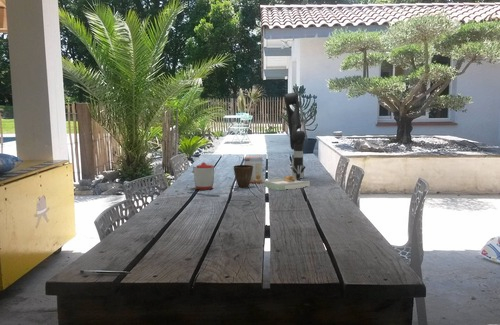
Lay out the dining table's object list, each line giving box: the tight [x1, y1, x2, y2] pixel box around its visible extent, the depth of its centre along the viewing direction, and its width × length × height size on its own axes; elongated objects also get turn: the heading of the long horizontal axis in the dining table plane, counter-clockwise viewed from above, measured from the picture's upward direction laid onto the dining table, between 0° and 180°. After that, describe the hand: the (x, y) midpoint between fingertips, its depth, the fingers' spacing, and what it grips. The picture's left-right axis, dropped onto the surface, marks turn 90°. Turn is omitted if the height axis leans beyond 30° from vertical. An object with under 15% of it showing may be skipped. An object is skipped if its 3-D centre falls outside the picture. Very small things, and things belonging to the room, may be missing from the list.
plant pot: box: [233, 164, 253, 189], centre depth 366 cm, size 15×15×16 cm
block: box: [284, 175, 296, 182], centre depth 375 cm, size 6×5×4 cm
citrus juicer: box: [191, 161, 215, 191], centre depth 361 cm, size 16×17×20 cm
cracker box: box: [243, 156, 263, 184], centre depth 387 cm, size 14×6×21 cm, turn 84°
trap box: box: [263, 178, 311, 191], centre depth 368 cm, size 28×20×4 cm
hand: (298, 178), depth 378 cm, fingers closed
